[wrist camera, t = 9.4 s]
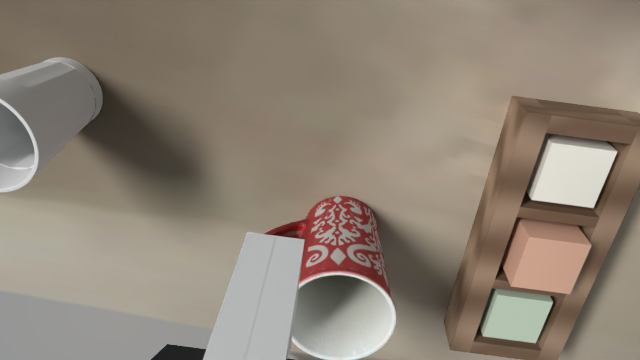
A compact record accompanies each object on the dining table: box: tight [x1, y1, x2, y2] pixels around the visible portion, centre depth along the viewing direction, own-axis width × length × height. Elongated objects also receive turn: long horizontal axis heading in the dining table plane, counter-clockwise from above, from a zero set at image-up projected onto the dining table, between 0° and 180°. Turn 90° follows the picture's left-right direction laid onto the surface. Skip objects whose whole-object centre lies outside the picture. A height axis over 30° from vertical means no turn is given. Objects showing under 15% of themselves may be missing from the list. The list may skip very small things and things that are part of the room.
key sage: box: [479, 288, 553, 343], centre depth 51 cm, size 5×5×4 cm
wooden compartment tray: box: [444, 96, 640, 360], centre depth 48 cm, size 26×11×4 cm, turn 173°
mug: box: [265, 196, 397, 360], centre depth 45 cm, size 13×9×14 cm
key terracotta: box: [501, 217, 592, 294], centre depth 46 cm, size 5×5×4 cm
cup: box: [0, 57, 103, 192], centre depth 41 cm, size 8×8×12 cm
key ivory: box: [526, 133, 618, 208], centre depth 44 cm, size 5×5×4 cm
